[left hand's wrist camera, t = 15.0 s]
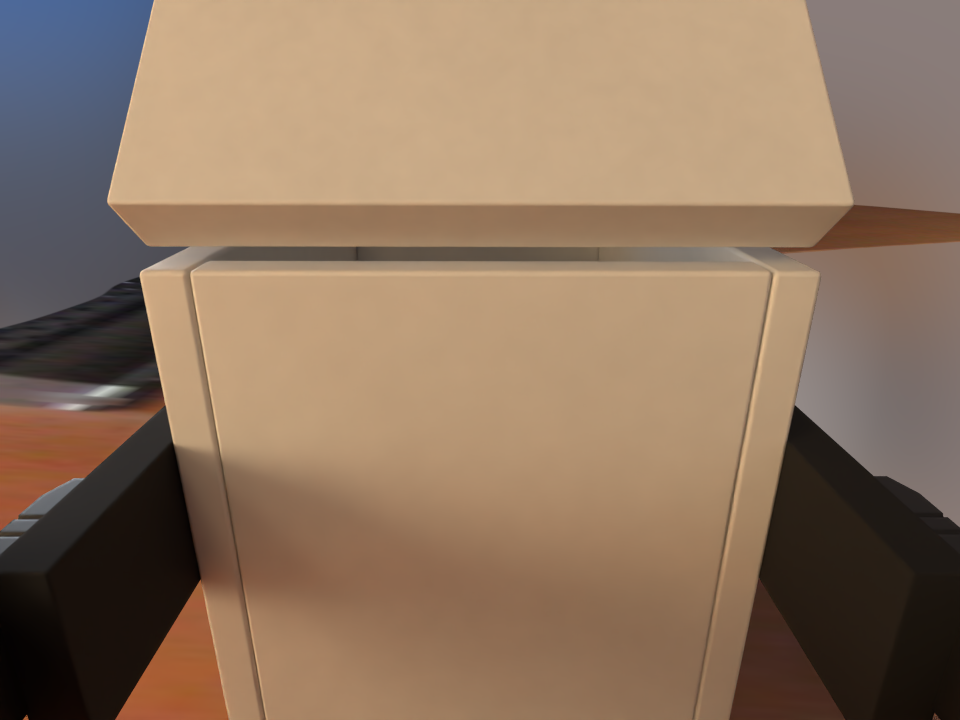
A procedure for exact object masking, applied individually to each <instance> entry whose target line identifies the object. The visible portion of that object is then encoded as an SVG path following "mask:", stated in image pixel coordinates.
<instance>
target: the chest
mask: <svg viewBox="0 0 960 720" xmlns="http://www.w3.org/2000/svg"><path fill="white" fill-rule="evenodd" d="M140 280H141V285H142V290H143V295H144V300H145V305H146V310H147V314H148V319H149V324H150V329H151V334H152V339H153V344H154V349H155V354H156V359H157V364H158V369H159V374H160V379H161V384H162V389H163V394H164V399H165V404H166V409H167V414H168V419H169V424H170V429H171V434H172V439H173V444H174V449H175V454H176V459H177V464H178V469H179V474H180V479H181V484H182V489H183V494H184V499H185V504H186V508H187V513H188V518H189V523H190V528H191V533H192V538H193V543H194V548H195V553H196V558H197V563H198V568H199V573H200V578H201V583H202V588H203V593H204V598H205V603H206V608H207V613H208V618H209V623H210V628H211V633H212V638H213V643H214V648H215V653H216V658H217V663H218V668H219V673H220V678H221V683H222V688H223V693H224V698H225V702H226V707H227V712H228V717H229V720H729V719H730V714H731V709H732V704H733V699H734V695H735V690H736V685H737V680H738V675H739V670H740V666H741V661H742V656H743V651H744V646H745V642H746V637H747V632H748V627H749V622H750V617H751V613H752V608H753V603H754V598H755V593H756V589H757V584H758V579H759V574H760V569H761V564H762V560H763V555H764V550H765V545H766V540H767V536H768V531H769V526H770V521H771V516H772V512H773V507H774V502H775V497H776V492H777V487H778V483H779V478H780V473H781V468H782V463H783V458H784V453H785V448H786V443H787V439H788V434H789V430H790V425H791V420H792V415H793V410H794V406H795V400H796V396H797V391H798V386H799V381H800V377H801V371H802V367H803V362H804V357H805V353H806V348H807V343H808V338H809V333H810V328H811V324H812V319H813V314H814V309H815V304H816V300H817V294H818V290H819V285H820V280H821V273H820V272H819V271H817V270H815V269H813V268H811V267H809V266H806V265H804V264H802V263H800V262H798V261H796V260H794V259H792V258H790V257H788V256H786V255H784V254H782V253H780V252H777V251H775V250H773V249H771V248H769V247H268V246H191V247H189V248H187V249H185V250H183V251H181V252H179V253H177V254H175V255H173V256H171V257H169V258H167V259H165V260H163V261H161V262H159V263H157V264H155V265H153V266H151V267H149V268H147V269H145V270H143V271H141V273H140Z"/></svg>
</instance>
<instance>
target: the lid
mask: <svg viewBox="0 0 960 720" xmlns="http://www.w3.org/2000/svg"><path fill="white" fill-rule="evenodd" d="M107 201H108V204H109V206H110V207H111V208H112V209H113V210H114V211H115V212H116V213H117V214H118V215H119V216H120V217H121V218H122V219H123V220H124V222H125V223H126V224H127V225H128V226H129V227H130V228H131V229H132V230H133V231H134V232H135V233H136V234H137V235H138V236H139V238H140V239H141V240H142V241H143V242H144V243H145V244H146V245H148V246H268V247H813V246H815V245H816V244H817V243H818V242H819V241H820V240H821V239H822V238H823V236H824V235H825V234H826V233H827V232H828V231H829V230H830V229H831V228H832V227H833V226H834V225H835V224H836V223H837V222H838V221H839V220H840V219H841V218H842V217H843V216H844V215H845V214H846V213H847V212H848V211H849V210H850V209H851V208H852V207H853V205H854V198H853V193H852V189H851V185H850V181H849V177H848V173H847V169H846V164H845V160H844V156H843V152H842V148H841V144H840V140H839V136H838V131H837V127H836V123H835V119H834V115H833V111H832V107H831V103H830V98H829V94H828V90H827V86H826V82H825V78H824V74H823V70H822V66H821V61H820V57H819V53H818V49H817V45H816V41H815V37H814V33H813V28H812V24H811V20H810V16H809V12H808V8H807V4H806V0H154V4H153V8H152V12H151V17H150V21H149V25H148V29H147V34H146V38H145V42H144V46H143V50H142V55H141V59H140V63H139V68H138V72H137V76H136V80H135V84H134V89H133V93H132V97H131V101H130V106H129V110H128V114H127V118H126V123H125V127H124V131H123V135H122V140H121V144H120V148H119V152H118V157H117V161H116V165H115V169H114V174H113V178H112V182H111V186H110V191H109V195H108V199H107Z"/></svg>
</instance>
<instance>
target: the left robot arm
mask: <svg viewBox="0 0 960 720" xmlns="http://www.w3.org/2000/svg"><path fill="white" fill-rule="evenodd" d="M759 578H760V580H761V582H762V583H763V585H764V587H765V588H766V590H767V592H768V593H769V595H770V596H771V598H772V600H773V601H774V603H775V605H776V606H777V608H778V610H779V611H780V613H781V615H782V616H783V618H784V619H785V621H786V623H787V624H788V626H789V628H790V629H791V631H792V633H793V634H794V636H795V637H796V639H797V641H798V642H799V644H800V646H801V647H802V649H803V651H804V652H805V654H806V655H807V657H808V659H809V660H810V662H811V664H812V665H813V667H814V669H815V670H816V672H817V673H818V675H819V677H820V678H821V680H822V682H823V683H824V685H825V687H826V688H827V690H828V691H829V693H830V695H831V696H832V698H833V700H834V701H835V703H836V705H837V706H838V708H839V710H840V711H841V713H842V714H843V716H844V718H845V719H846V720H932V718H933V715H934V712H935V713H936V714H937V716H938V717H939V718H940V720H960V527H958V526H957V525H956V524H955V523H954V522H952V521H951V520H950V519H949V518H948V517H943V513H942V512H941V511H939V510H938V509H937V508H936V507H935V506H934V505H932V504H931V503H930V502H929V501H928V500H926V499H925V498H924V497H923V496H922V495H921V494H919V493H918V492H916V491H914V490H912V489H910V488H908V487H906V486H904V485H902V484H900V483H899V482H897V481H895V480H893V479H891V478H889V477H887V476H873V475H872V474H871V473H869V472H868V471H867V470H866V469H865V468H864V467H863V466H862V465H861V464H859V463H858V462H857V461H856V460H855V459H854V458H853V457H852V456H851V455H850V454H848V453H847V452H846V451H845V450H844V449H843V448H842V447H841V446H839V445H838V444H837V443H836V442H835V441H834V440H833V439H832V438H831V437H830V436H828V435H827V434H826V433H825V432H824V431H823V430H822V429H821V428H820V427H818V426H817V425H816V424H815V423H814V422H813V421H812V420H811V419H810V418H809V417H807V416H806V415H805V414H804V413H803V412H802V411H801V410H800V409H799V408H797V407H796V406H794V410H793V415H792V420H791V425H790V430H789V434H788V439H787V443H786V448H785V453H784V458H783V463H782V468H781V473H780V478H779V483H778V487H777V492H776V497H775V502H774V507H773V512H772V516H771V521H770V526H769V531H768V536H767V540H766V545H765V550H764V555H763V560H762V564H761V569H760V574H759ZM200 579H201V578H200V573H199V568H198V563H197V558H196V553H195V548H194V543H193V538H192V533H191V528H190V523H189V518H188V513H187V508H186V504H185V499H184V494H183V489H182V484H181V479H180V474H179V469H178V464H177V459H176V454H175V449H174V444H173V439H172V434H171V429H170V424H169V419H168V414H167V409H166V405H165V406H164V407H163V408H162V409H161V410H160V411H159V412H158V413H156V414H155V415H154V416H153V417H152V418H151V419H150V420H149V421H148V422H146V423H145V424H144V425H143V426H142V427H141V428H140V429H139V430H138V431H137V432H135V433H134V434H133V435H132V436H131V437H130V438H129V439H128V440H127V441H125V442H124V443H123V444H122V445H121V446H120V447H119V448H118V449H117V450H115V451H114V452H113V453H112V454H111V455H110V456H109V457H108V458H107V459H105V460H104V461H103V462H102V463H101V464H100V465H99V466H98V467H97V468H96V469H94V470H93V471H92V472H91V473H90V474H89V475H88V476H87V477H86V478H74V479H72V480H70V481H69V482H67V483H65V484H63V485H61V486H59V487H57V488H55V489H53V490H51V491H50V492H48V493H46V494H44V495H42V496H41V497H40V498H38V499H37V500H36V501H35V502H34V503H33V504H31V505H30V506H29V507H28V508H27V509H26V510H24V511H23V512H22V513H21V514H20V515H19V518H18V520H13V521H12V522H10V523H9V524H8V525H7V526H6V527H5V528H3V529H2V530H1V531H0V720H23V719H24V717H25V716H26V715H27V716H28V719H29V720H115V719H116V717H117V715H118V714H119V712H120V710H121V709H122V707H123V706H124V704H125V702H126V701H127V699H128V697H129V696H130V694H131V692H132V691H133V689H134V688H135V686H136V684H137V683H138V681H139V679H140V678H141V676H142V674H143V673H144V671H145V669H146V668H147V666H148V665H149V663H150V661H151V660H152V658H153V656H154V655H155V653H156V651H157V650H158V648H159V647H160V645H161V643H162V642H163V640H164V638H165V637H166V635H167V633H168V632H169V630H170V629H171V627H172V625H173V624H174V622H175V620H176V619H177V617H178V615H179V614H180V612H181V610H182V609H183V607H184V606H185V604H186V602H187V601H188V599H189V597H190V596H191V594H192V592H193V591H194V589H195V588H196V586H197V584H198V583H199V581H200Z"/></svg>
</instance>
